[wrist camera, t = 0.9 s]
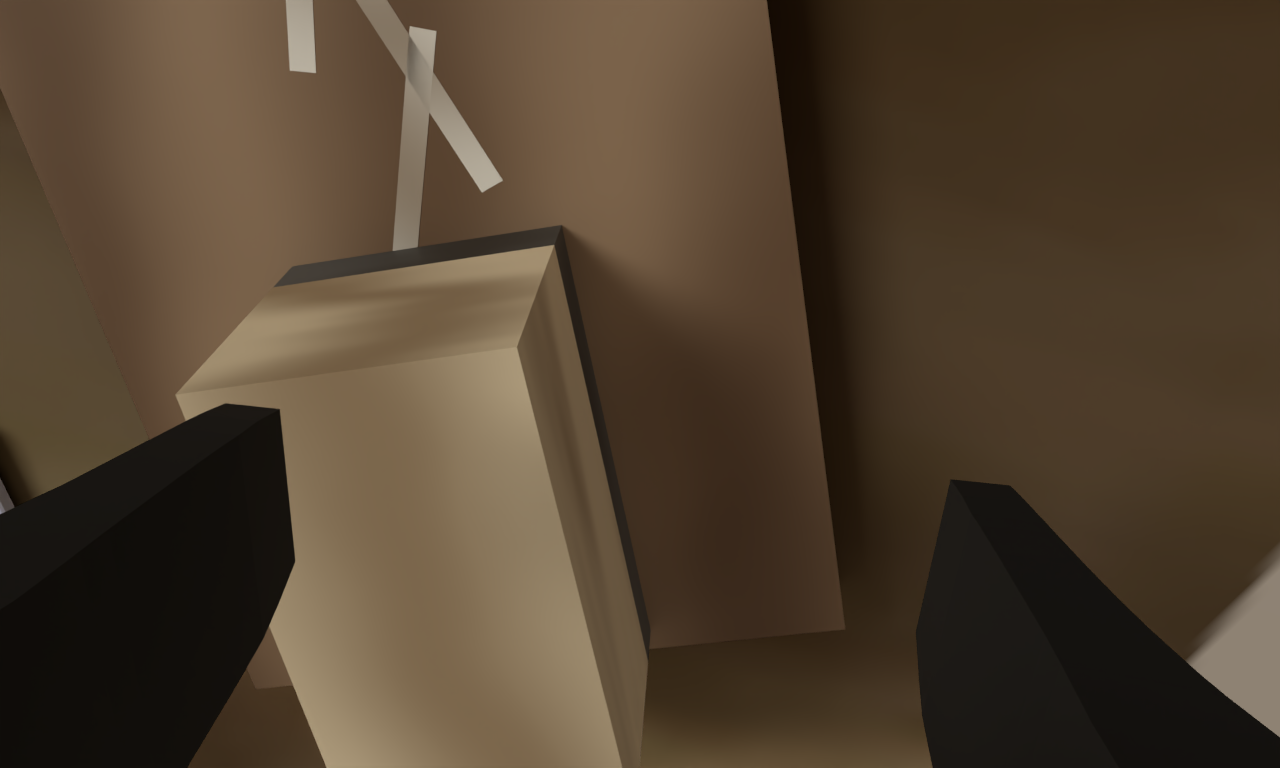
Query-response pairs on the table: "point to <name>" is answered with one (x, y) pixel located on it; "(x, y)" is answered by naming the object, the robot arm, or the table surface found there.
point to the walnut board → (470, 228)
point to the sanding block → (446, 509)
